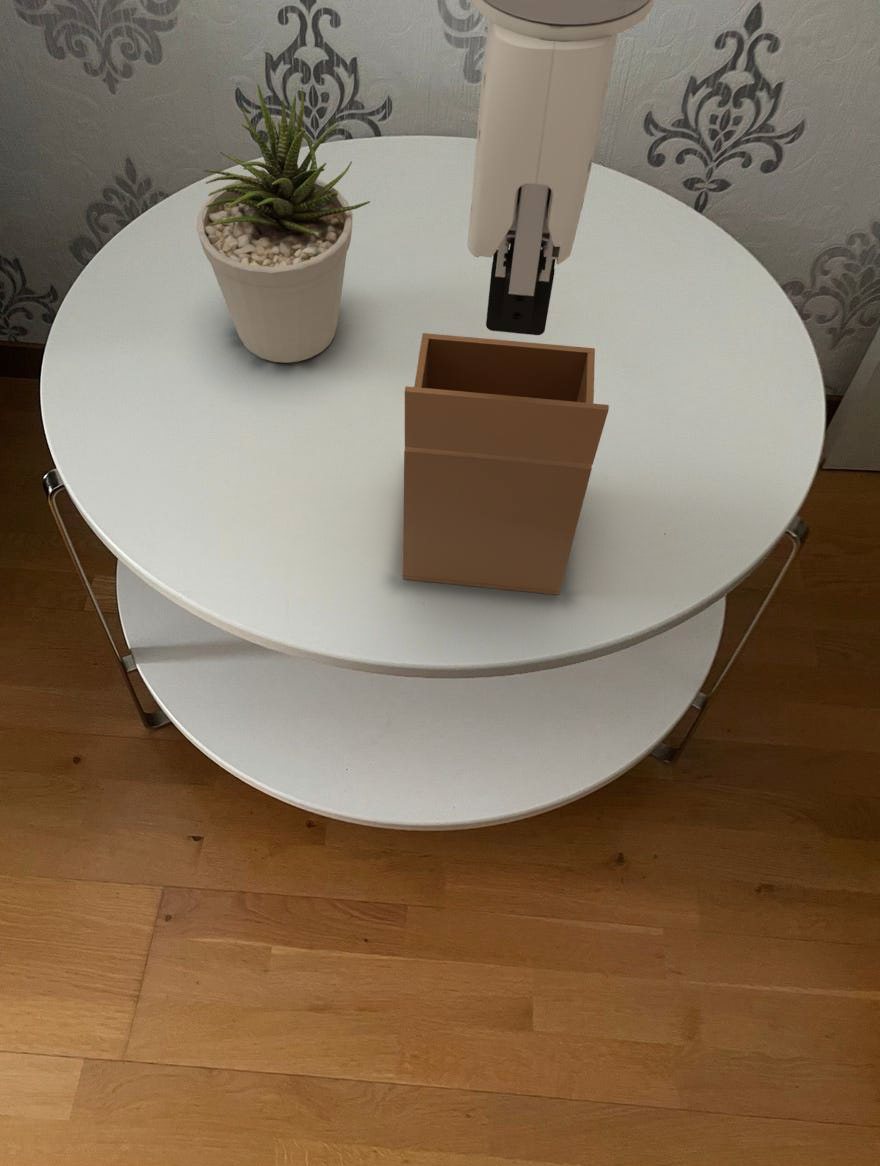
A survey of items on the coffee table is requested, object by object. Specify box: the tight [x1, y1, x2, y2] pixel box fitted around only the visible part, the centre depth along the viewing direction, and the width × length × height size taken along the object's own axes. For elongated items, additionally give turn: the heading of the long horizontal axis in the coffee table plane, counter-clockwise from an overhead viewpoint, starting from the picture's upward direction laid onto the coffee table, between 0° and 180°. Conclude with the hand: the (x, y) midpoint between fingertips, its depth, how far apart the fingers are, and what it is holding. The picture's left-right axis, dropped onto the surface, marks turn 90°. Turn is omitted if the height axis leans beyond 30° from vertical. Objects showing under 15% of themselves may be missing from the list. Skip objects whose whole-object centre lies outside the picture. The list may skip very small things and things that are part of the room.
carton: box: [402, 332, 596, 596], centre depth 72 cm, size 12×11×14 cm
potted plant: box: [196, 82, 371, 364], centre depth 81 cm, size 13×14×20 cm
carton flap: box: [404, 385, 610, 466], centre depth 60 cm, size 12×5×1 cm
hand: (515, 322), depth 54 cm, fingers closed
